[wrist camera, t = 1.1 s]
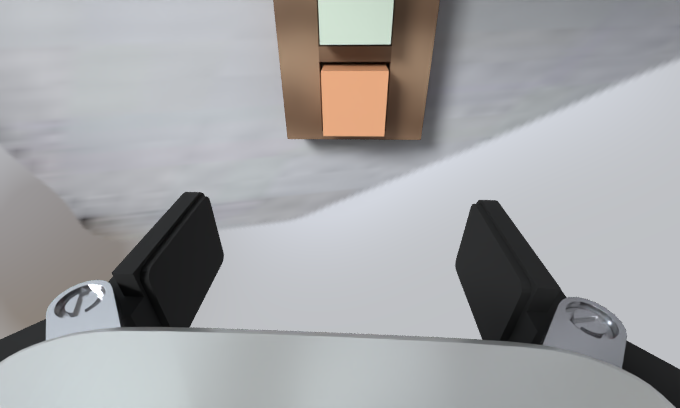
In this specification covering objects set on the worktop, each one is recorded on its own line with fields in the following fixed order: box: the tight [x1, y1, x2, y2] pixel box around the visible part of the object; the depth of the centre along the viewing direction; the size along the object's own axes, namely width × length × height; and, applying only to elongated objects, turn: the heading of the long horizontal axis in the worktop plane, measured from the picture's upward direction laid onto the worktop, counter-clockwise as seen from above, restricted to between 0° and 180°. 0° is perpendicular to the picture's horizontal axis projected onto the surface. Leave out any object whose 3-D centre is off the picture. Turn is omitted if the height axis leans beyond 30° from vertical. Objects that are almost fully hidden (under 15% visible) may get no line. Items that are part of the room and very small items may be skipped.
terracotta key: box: [321, 64, 389, 136], centre depth 24 cm, size 5×5×3 cm
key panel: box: [273, 0, 440, 140], centre depth 22 cm, size 19×11×3 cm, turn 1°
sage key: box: [318, 0, 394, 45], centre depth 20 cm, size 5×5×3 cm
